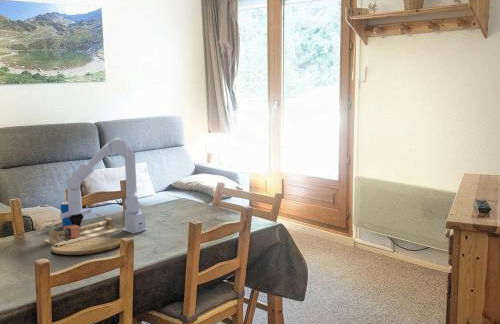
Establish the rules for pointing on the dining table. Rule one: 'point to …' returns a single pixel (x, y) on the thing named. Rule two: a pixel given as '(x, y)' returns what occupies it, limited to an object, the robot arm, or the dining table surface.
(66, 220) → the beverage can
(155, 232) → the dining table surface
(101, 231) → the rod rig
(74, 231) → the salmon red block
